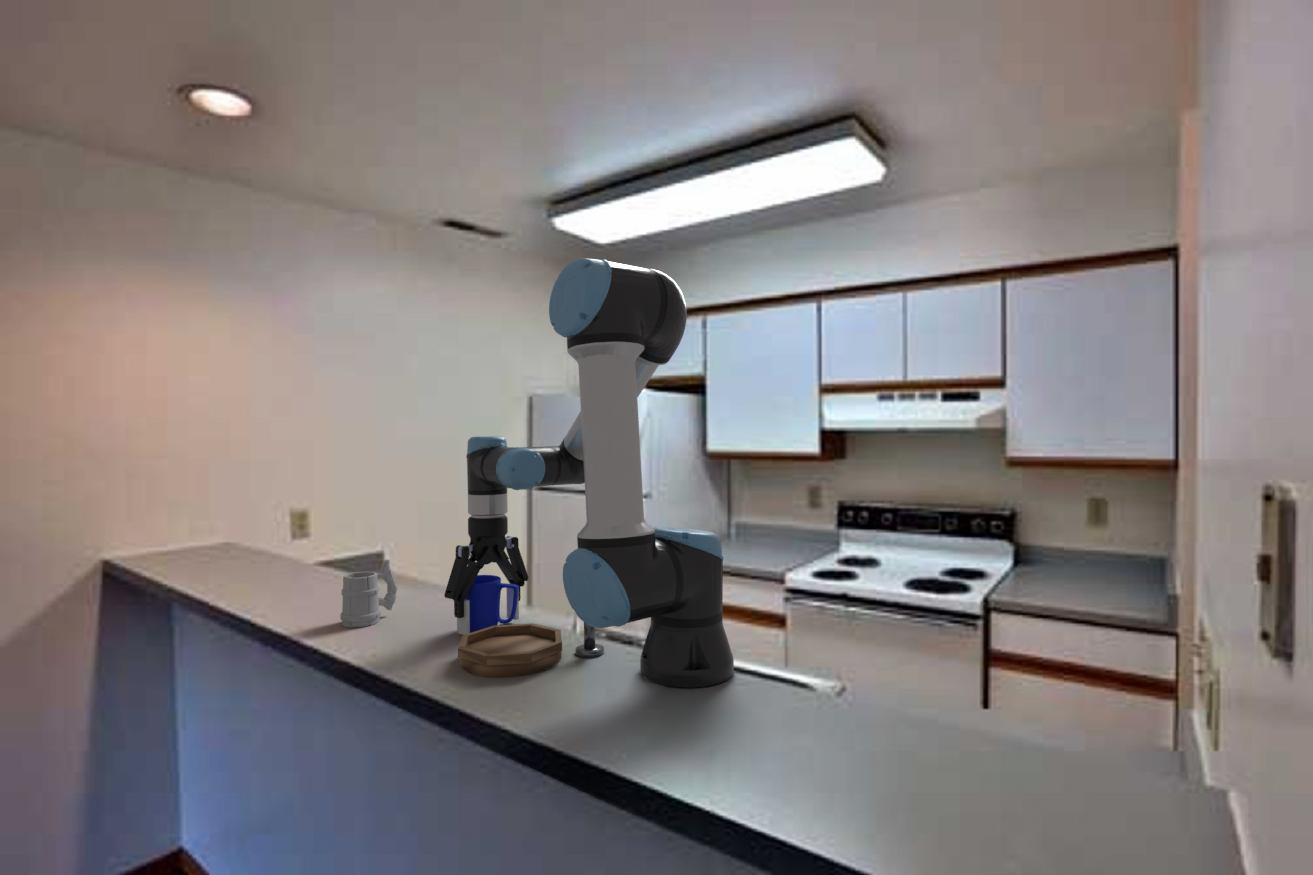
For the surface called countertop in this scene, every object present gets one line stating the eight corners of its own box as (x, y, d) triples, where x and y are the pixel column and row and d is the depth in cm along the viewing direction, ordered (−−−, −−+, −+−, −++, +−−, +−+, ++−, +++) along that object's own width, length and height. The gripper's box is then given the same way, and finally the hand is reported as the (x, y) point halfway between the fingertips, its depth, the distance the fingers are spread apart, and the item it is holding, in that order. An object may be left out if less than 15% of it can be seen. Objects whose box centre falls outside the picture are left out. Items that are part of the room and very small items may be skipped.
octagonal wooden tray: (581, 654, 120) (581, 634, 120) (508, 684, 106) (508, 662, 106) (514, 637, 130) (513, 619, 130) (438, 663, 116) (438, 642, 116)
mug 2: (509, 638, 130) (508, 585, 129) (450, 635, 132) (449, 583, 132) (526, 625, 138) (525, 576, 137) (470, 622, 140) (469, 573, 140)
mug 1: (332, 623, 140) (331, 565, 140) (386, 611, 149) (385, 556, 149) (352, 630, 135) (351, 569, 135) (406, 616, 145) (405, 560, 145)
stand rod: (609, 651, 122) (609, 603, 122) (591, 659, 118) (590, 610, 118) (588, 646, 125) (587, 600, 125) (569, 653, 121) (569, 606, 120)
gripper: (519, 507, 146) (520, 609, 147) (423, 521, 127) (424, 638, 127) (545, 510, 142) (546, 614, 142) (449, 524, 122) (451, 645, 123)
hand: (489, 626), depth 135 cm, fingers open, 12 cm apart
